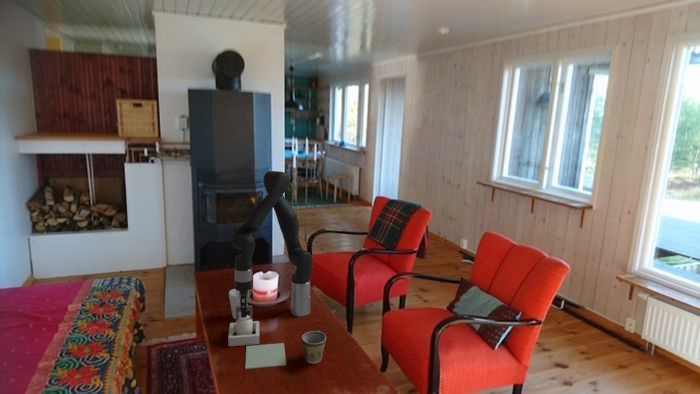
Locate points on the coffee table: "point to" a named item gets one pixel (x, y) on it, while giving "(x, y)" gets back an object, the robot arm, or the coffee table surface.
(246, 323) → the egg with flat handle
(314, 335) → the ceramic cup
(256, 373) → the coffee table surface
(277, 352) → the mat
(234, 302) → the foam cup
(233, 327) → the frame
